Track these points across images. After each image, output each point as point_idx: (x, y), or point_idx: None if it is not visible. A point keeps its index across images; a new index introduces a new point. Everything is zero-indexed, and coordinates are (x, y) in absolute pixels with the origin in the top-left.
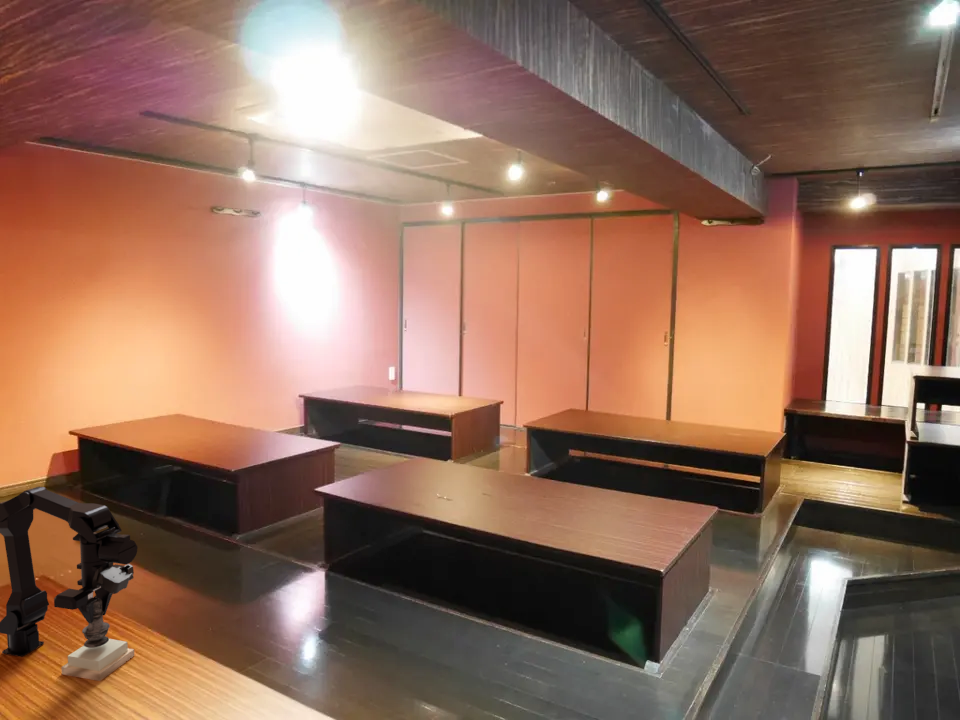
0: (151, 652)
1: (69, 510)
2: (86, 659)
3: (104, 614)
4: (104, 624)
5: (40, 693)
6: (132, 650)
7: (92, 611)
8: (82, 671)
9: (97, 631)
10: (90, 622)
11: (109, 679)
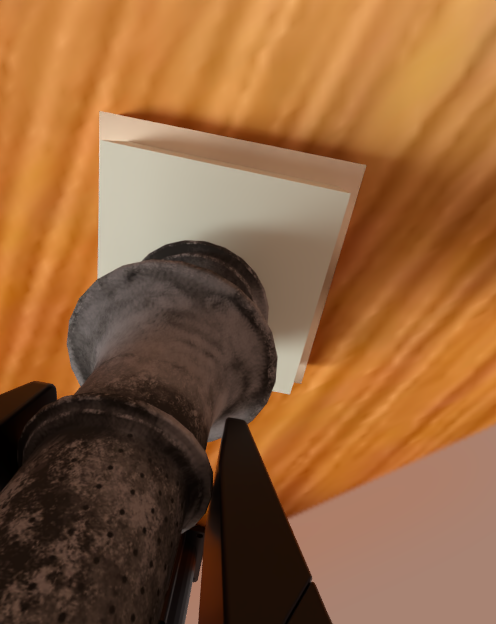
0: (60, 19)
1: None
2: (322, 284)
3: (44, 387)
4: (128, 318)
5: (434, 364)
6: (112, 115)
7: (249, 565)
8: (331, 277)
9: (232, 319)
10: (245, 433)
11: (345, 117)
